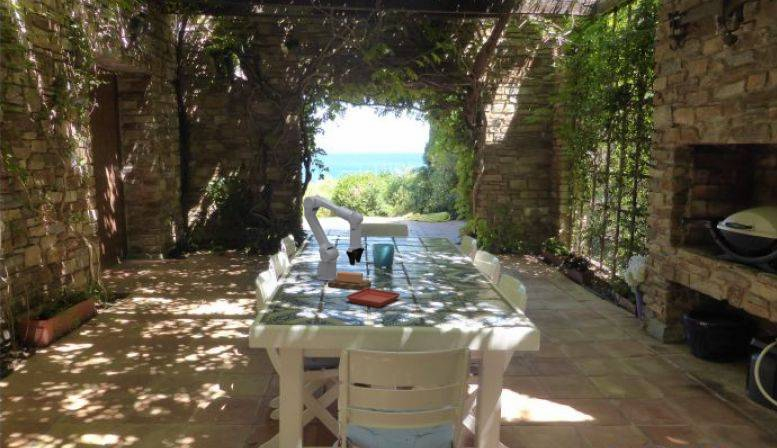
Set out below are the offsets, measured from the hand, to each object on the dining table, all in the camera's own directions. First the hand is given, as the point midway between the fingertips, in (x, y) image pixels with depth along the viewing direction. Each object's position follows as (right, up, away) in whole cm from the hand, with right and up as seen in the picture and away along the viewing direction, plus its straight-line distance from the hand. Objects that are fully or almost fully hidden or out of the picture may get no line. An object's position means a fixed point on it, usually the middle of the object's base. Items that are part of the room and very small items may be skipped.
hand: (355, 263), depth 279 cm
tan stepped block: (-2, -11, -10) cm, 15 cm away
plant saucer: (+10, -15, -33) cm, 38 cm away
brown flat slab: (-2, -11, -10) cm, 15 cm away
